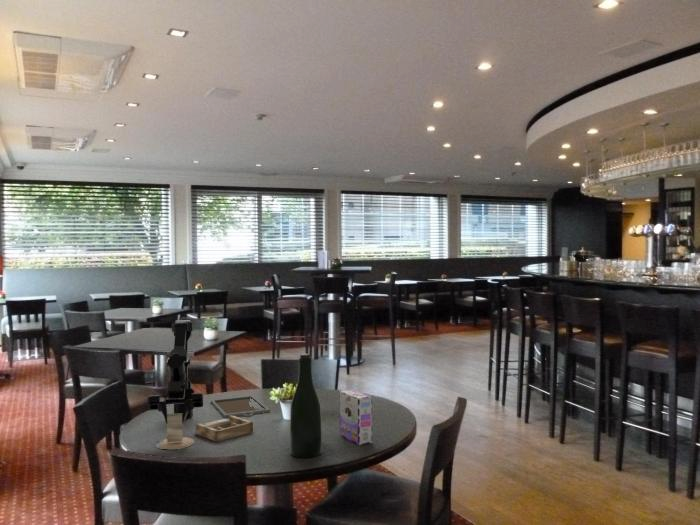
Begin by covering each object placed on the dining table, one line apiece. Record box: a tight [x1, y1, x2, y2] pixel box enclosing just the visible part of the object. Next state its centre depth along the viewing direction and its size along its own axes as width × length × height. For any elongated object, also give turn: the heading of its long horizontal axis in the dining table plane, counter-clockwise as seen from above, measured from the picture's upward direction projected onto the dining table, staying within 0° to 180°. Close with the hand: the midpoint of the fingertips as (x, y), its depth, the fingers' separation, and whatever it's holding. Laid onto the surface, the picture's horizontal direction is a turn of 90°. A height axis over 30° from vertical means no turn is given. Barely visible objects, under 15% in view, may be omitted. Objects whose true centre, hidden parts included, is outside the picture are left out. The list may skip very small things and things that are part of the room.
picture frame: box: [210, 395, 271, 419], centre depth 248 cm, size 19×2×30 cm
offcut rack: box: [195, 415, 254, 443], centre depth 213 cm, size 14×16×4 cm
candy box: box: [339, 388, 373, 446], centre depth 205 cm, size 14×6×16 cm, turn 30°
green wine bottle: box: [289, 353, 323, 459], centre depth 190 cm, size 10×10×33 cm
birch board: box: [166, 413, 184, 442], centre depth 201 cm, size 3×5×9 cm, turn 102°
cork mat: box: [157, 436, 195, 450], centre depth 201 cm, size 13×13×1 cm
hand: (174, 422), depth 199 cm, fingers closed on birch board, 5 cm apart
